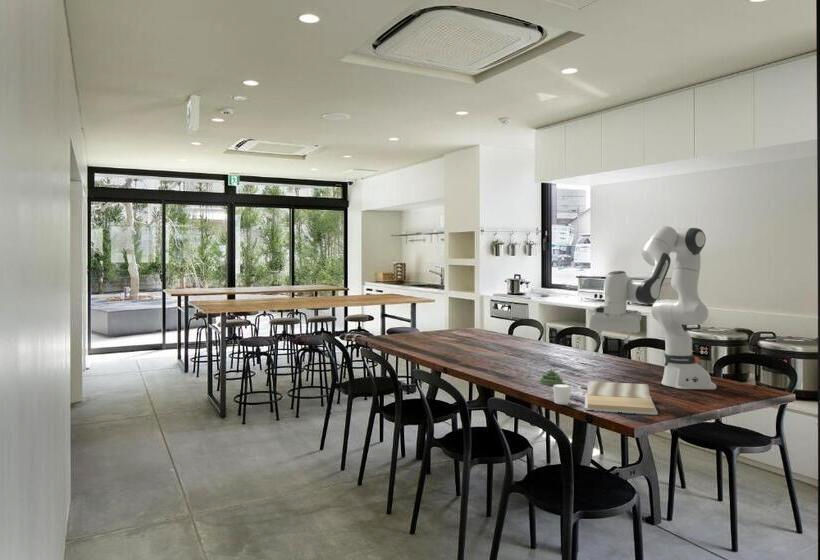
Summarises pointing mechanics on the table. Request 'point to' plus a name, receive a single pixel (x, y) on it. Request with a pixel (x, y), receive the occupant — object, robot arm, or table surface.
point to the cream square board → (620, 404)
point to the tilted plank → (618, 389)
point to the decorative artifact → (551, 378)
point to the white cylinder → (561, 393)
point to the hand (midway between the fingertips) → (613, 342)
